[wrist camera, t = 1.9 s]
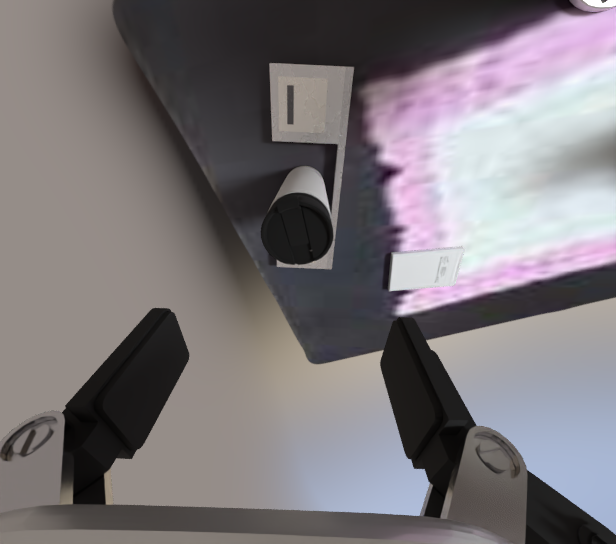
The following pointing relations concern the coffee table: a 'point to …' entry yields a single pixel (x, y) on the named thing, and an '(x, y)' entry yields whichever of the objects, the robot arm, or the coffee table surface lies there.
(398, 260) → the external hard drive
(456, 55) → the coffee table surface
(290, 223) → the travel mug
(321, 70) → the panel
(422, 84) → the coffee table surface
